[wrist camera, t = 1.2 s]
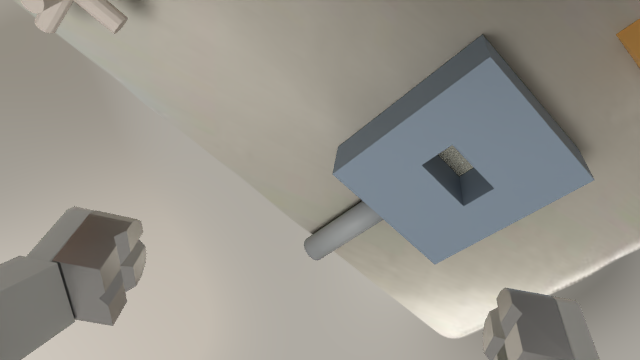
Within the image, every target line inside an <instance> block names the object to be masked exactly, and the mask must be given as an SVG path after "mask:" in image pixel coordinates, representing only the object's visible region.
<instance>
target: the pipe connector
mask: <svg viewBox="0 0 640 360" xmlns="http://www.w3.org/2000/svg"><path fill="white" fill-rule="evenodd" d="M73 1H75V2H76V3H77V4H78V5H79V6H81V7H82V8H83V9H84V10H86V11H87V12H88V13H89V14H90V15H92V16H93V17H94V18H95V19H96V20H98V21H99V22H100V23H101V24H103V25H104V26H105V27H106V28H107V29H109V30H110V31H111V32H112V33H114V34H115V33H117V32H118V31H119V30H120V29H121V28H122V27H123V25H124V24H125V23H126V21H127V19H128V18H127V17H126V16H125V15H124V14H123V13H121V12H120V11H119V10H118V9H117V8H115V7H114V6H113V5H112V4H111V3H109V2H108V1H107V0H21V2H22V4H23V5H24V7H25V8H26V9H27V10H29V11H30V12H33V13H38V15H37V17H36V18H35V25H37V27H38V28H39V29H40V30H42V31H44V32H46V33H55V32H56V30H57V28H58V27H59V25H60V23H61V22H62V20H63V18H64V16H65V15H66V13H67V11H68V10H69V8H70V6H71V4H72V3H73Z"/></svg>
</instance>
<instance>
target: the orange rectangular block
mask: <svg viewBox="0 0 640 360" xmlns="http://www.w3.org/2000/svg"><path fill="white" fill-rule="evenodd" d="M616 35H617V37H618V38H619V40H620V41H621V42H622V44H623V45H624V47H625V48H626V49H627V51H628V52H629V54H630V55H631V57H632V58H633V59H634V61H635V62H636V64H637V65H638V66H639V68H640V19H638V20H637V21H635V22H634V23H632V24H631V25H629V26H628V27H626V28H625V29H623V30H622V31H620V32H619V33H617V34H616Z"/></svg>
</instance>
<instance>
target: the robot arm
mask: <svg viewBox="0 0 640 360" xmlns="http://www.w3.org/2000/svg"><path fill="white" fill-rule="evenodd" d="M142 233H143V228H142V224H141V221H139V220H137V219H133V218H129V217H124V216H119V215H114V214H110V213H105V212H100V211H94V210H89V209H84V208H80V207H75V206H74V207H72V208H70V209H68V210H66V212H65V213H64V214H63V215H62V216H61V217H60V219H59V220H58V221H57V222H56V223H55V224H54V225H53V227H52V228H51V229H50V230H49V231H48V232H47V233H46V235H45V236H44V237H43V238H42V239H41V240H40V242H39V243H38V244H37V245H36V246H35V247H34V249H32V251H31V252H30V253H29V254H28V255H27V256H26V257H24V256H18V257H16V258H13V259H11V260H9V261H7V262H4V263H2V264H0V360H21V359H23V358H24V357H26V356H27V355H28V354H30V353H31V352H33V351H34V350H36V349H37V348H38V347H40V346H41V345H43V344H44V343H45V342H47V341H48V340H50V339H51V338H52V337H54V336H55V335H57V334H58V333H60V332H61V331H63V330H64V329H65V328H67V327H68V326H70V325H71V324H72V323H74V322H75V320H81V321H87V322H93V323H99V324H105V325H111V326H113V325H114V323H115V321H116V320H117V318H118V316H119V315H120V313H121V311H122V309H123V308H124V306H125V304H126V302H127V299H126V293H125V292H126V291H128V290H130V289H132V288H133V287H135V286H136V285H137V283H138V281H139V280H140V278H141V276H142V273H143V270H144V267H145V263H146V249H145V245H144V244H143V243H142V242H141V241H140V240H139V238H140V236H141V235H142ZM497 304H498V308H496V309H494V310H492V311H490V312H489V314H488V316H487V318H486V320H485V324H484V329H483V349H484V354H485V355H486V356H487V357H488V359H489V360H600V359H599V356H598V353H597V351H596V348H595V345H594V342H593V340H592V337H591V335H590V332H589V329H588V326H587V324H586V321H585V318H584V316H583V313H582V310H581V307H580V305H579V304H578V302H577V301H575V300H571V299H565V298H560V297H554V296H549V295H543V294H538V293H532V292H526V291H521V290H515V289H509V288H504V289H503V290H501V291H500V293H499V295H498V297H497Z"/></svg>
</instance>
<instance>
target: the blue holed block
mask: <svg viewBox="0 0 640 360" xmlns="http://www.w3.org/2000/svg"><path fill="white" fill-rule="evenodd" d="M451 145H453V146H454V147H455V148H456V149H457V150H458V151H459V152H460V153H461V154H462V155H463V157H464V158H465V159H466V160H467V161H468V162H469V163H470V164H471V165H472V166H473V167H474V168H472V169H471V170H469V171H468V172H466V173H464V174H463V175H461V176H460V177H459V176H458V175H457V174H456V173H455V172H454V171H453V170H452V169H451V168H450V167H449V166H448V165H447V164H446V163H445V162H444V161H443V160H442V159H441V158H440V157H439V156H438V154H439V153H441V152H442V151H444V150H445V149H447V148H448V147H450V146H451ZM333 175H334V176H335V177H336V178H337V179H339V180H340V181H341V182H342V183H343V184H344V185H345V186H346V187H348V188H349V189H350V190H351V191H352V192H353V193H354V194H356V195H357V196H358V197H359V198H360V199H361V200H362V202H360V203H359V204H357V205H356V206H354V207H353V208H351V209H350V210H348V211H347V212H345V213H344V214H342V215H341V216H340V217H338V218H337V219H335V220H334V221H332V222H331V223H329V224H328V225H326V226H325V227H323V228H322V229H320V230H319V231H317V232H316V233H314V234H313V235H311V236H310V237H308V238H307V239H306V240H305V242H304V247H305V250H306V252H307V254H308V255H309V256H310V257H311V258H312V259H314V260H320V259H321V258H323V257H324V256H326V255H328V254H329V253H331V252H332V251H334V250H336V249H337V248H339V247H340V246H342V245H344V244H345V243H347V242H348V241H350V240H352V239H353V238H355V237H356V236H358V235H359V234H361V233H363V232H364V231H366V230H367V229H369V228H371V227H372V226H374V225H375V224H377V223H379V222H380V221H382V220H383V219H384V220H385V221H386V222H387V223H388V224H390V225H391V226H392V227H393V228H394V229H395V230H396V231H397V232H399V233H400V234H401V235H402V236H403V237H404V238H405V239H407V240H408V241H409V242H410V243H411V244H412V245H413V246H414V247H416V248H417V249H418V250H419V251H420V252H421V253H422V254H423V255H425V256H426V257H427V258H428V259H429V260H430V261H431V262H433V263H434V264H437V263H439V262H440V261H442V260H444V259H446V258H448V257H450V256H452V255H454V254H456V253H457V252H459V251H461V250H463V249H465V248H467V247H469V246H471V245H473V244H474V243H476V242H478V241H480V240H482V239H484V238H486V237H488V236H490V235H491V234H493V233H495V232H497V231H499V230H501V229H503V228H505V227H507V226H508V225H510V224H512V223H514V222H516V221H518V220H520V219H522V218H524V217H525V216H527V215H529V214H531V213H533V212H535V211H537V210H539V209H541V208H542V207H544V206H546V205H548V204H550V203H552V202H554V201H556V200H558V199H559V198H561V197H563V196H565V195H567V194H569V193H571V192H573V191H575V190H576V189H578V188H580V187H582V186H584V185H586V184H588V183H590V182H592V181H593V180H594V178H593V176H592V174H591V172H590V170H589V168H588V166H587V164H586V162H585V161H584V159H583V157H582V155H581V153H580V151H579V149H578V148H577V147H576V146H575V145H574V143H573V142H572V141H571V140H570V139H569V137H568V136H567V135H566V134H565V133H564V131H563V130H562V129H561V128H560V127H559V125H558V124H557V123H556V122H555V121H554V119H553V118H552V117H551V116H550V115H549V113H548V112H547V111H546V110H545V109H544V107H543V106H542V105H541V104H540V103H539V101H538V100H537V99H536V98H535V97H534V95H533V94H532V93H531V92H530V91H529V89H528V88H527V87H526V86H525V85H524V84H523V82H522V81H521V80H520V79H519V78H518V76H517V75H516V74H515V73H514V72H513V70H512V69H511V68H510V67H509V66H508V64H507V63H506V62H505V61H504V60H503V58H502V57H501V56H500V55H499V54H498V52H497V51H496V50H495V49H494V48H493V46H492V45H491V44H490V43H489V42H488V40H487V39H486V38H485V37H484V36H483V34H482V35H481V36H480V37H478V38H477V39H476V40H475V41H473V42H472V43H471V44H469V45H468V46H467V47H466V48H464V49H463V50H462V51H460V52H459V53H458V54H457V55H455V56H454V57H453V58H451V59H450V60H449V61H448V62H446V63H445V64H444V65H443V66H441V67H440V68H439V69H437V70H436V71H435V72H434V73H432V74H431V75H430V76H428V77H427V78H426V79H425V80H423V81H422V82H421V83H419V84H418V85H417V86H416V87H414V88H413V89H412V90H410V91H409V92H408V93H407V94H405V95H404V96H403V97H401V98H400V99H399V100H398V101H396V102H395V103H394V104H392V105H391V106H390V107H389V108H387V109H386V110H385V111H383V112H382V113H381V114H380V115H378V116H377V117H376V118H375V119H373V120H372V121H371V122H369V123H368V124H367V125H366V126H364V127H363V128H362V129H360V130H359V131H358V132H357V133H355V134H354V135H353V136H351V137H350V138H349V139H348V140H346V141H345V142H344V143H342V144H341V145H340V146H339V147H338V150H337V155H336V160H335V164H334V169H333Z"/></svg>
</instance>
